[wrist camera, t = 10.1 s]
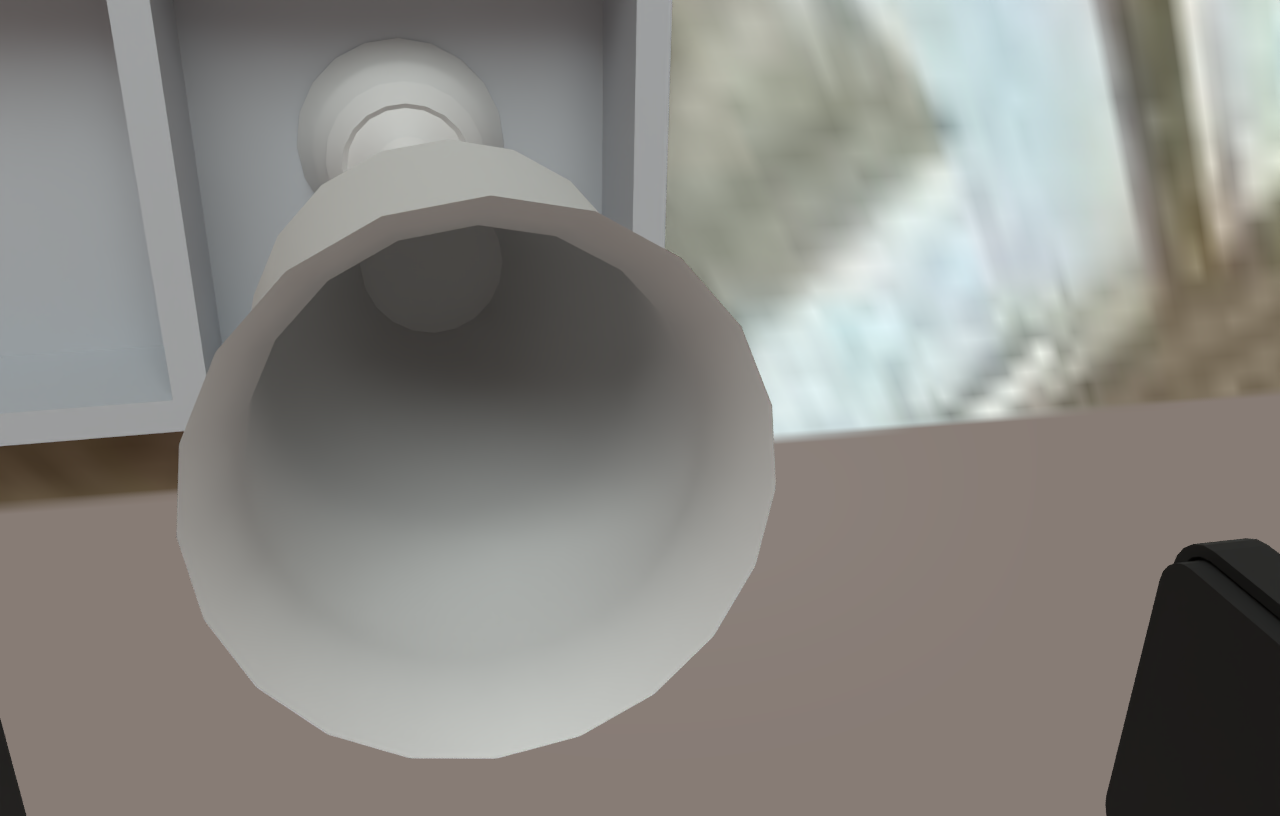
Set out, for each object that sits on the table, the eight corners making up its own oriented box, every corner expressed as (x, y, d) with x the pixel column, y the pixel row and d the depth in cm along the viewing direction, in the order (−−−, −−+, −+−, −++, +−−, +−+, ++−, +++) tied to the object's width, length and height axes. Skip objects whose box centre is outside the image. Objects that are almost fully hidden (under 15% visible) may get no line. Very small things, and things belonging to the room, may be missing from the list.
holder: (627, -112, 29) (675, -106, 25) (621, 328, 34) (660, 391, 30) (-445, -129, 24) (-599, -126, 20) (-267, 390, 29) (-362, 475, 25)
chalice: (537, 279, 31) (749, 724, 16) (273, 288, 30) (214, 796, 14) (539, -9, 28) (808, 188, 12) (244, -15, 27) (127, 202, 11)
